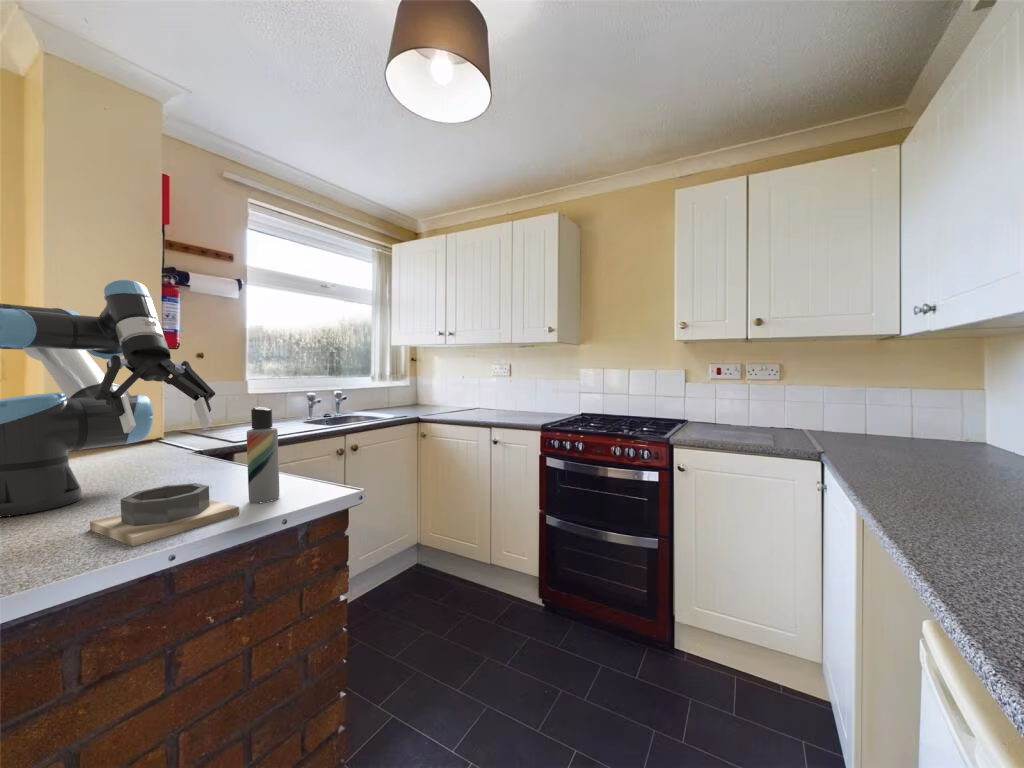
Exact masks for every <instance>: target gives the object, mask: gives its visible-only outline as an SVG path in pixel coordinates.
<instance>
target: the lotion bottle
mask: <svg viewBox="0 0 1024 768" xmlns="http://www.w3.org/2000/svg"><path fill="white" fill-rule="evenodd" d="M250 414H251V415H250V416H251V418H250V419H251V429H248V430H247V431H246V453H247V454H246V457H247V487H248V502H249V503H251V502H252V503H251V504H261V503H260V502H265V503H268V502H267V501H270V502H272V501H271V500H273V501H275V499H276V500H278V499H279V498H280V468H279V467H280V465H279V464H280V461H279V436H278V435H279V434H278V433H279V432H278V428H276V427H273V409H272V408H271V407H265V406H254V407H252V409H250ZM278 497H279V498H278ZM277 498H278V499H277Z"/></svg>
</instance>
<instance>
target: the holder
mask: <svg viewBox="0 0 1024 768" xmlns="http://www.w3.org/2000/svg"><path fill="white" fill-rule="evenodd" d="M238 514H239V515H240V507H239V506H237V505H233V504H229V503H226V502H225V503H224V502H220V501H216V500H211V499H210V486H209V485H206V484H201V483H195V482H194V483H183V484H181V483H179V484H168V485H163V486H157V487H153V488H149V489H144V490H138V491H135V492H132V493H131V494H129V495H127V496H125V497H122V498H121V499H120V514H115V515H111V516H107V517H103V518H99V519H94V520H91V521H89V530H90V531H92V532H94V533H98V534H100V535H102V536H105V537H107V538H111V539H112V540H115V541H118V542H120V543H123V544H125V545H129V546H131V547H136V546H139V545H143V544H146V543H149V542H153V541H155V540H159V539H163V538H165V537H169V536H173V535H175V534H176V535H177V534H180V533H183V532H186V531H189V530H192V529H195V528H199V527H203V526H206V525H209V524H212V523H216V522H219V521H222V520H227V519H229V518H233V517H236V516H239V515H238ZM235 515H236V516H235ZM232 516H233V517H232Z"/></svg>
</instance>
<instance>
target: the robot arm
mask: <svg viewBox="0 0 1024 768" xmlns="http://www.w3.org/2000/svg"><path fill="white" fill-rule="evenodd" d="M103 294H104V300H105V302H106V304H105V307H104V308H103V310H102V311H101V312H100V314H99V316H95V315H94V316H93V315H81V314H80V313H78V312H77V311H74V310H71V309H70V310H69V309H64V308H59V307H43V306H41V307H40V306H30V305H23V304H22V305H20V304H12V303H11V304H9V303H0V350H19V351H21V350H22V351H24V353H25V354H26V355H28V357H29V358H32V359H34V360H36V361H40V363H42V365H43V366H44V368H45V369H46V370H47V372H48V373H49V375H50V376H51V377H52V379H53V381H54V382H55V384H56V385H57V387H59V389H60V390H61V391H60V392H46V393H40V394H39V393H36V394H28V395H19V396H13V397H6V398H5V397H4V398H0V516H9V515H16V516H20V515H19V514H23V515H26V513H29V514H32V513H33V512H34V513H38V511H39V512H45V511H48V510H52V509H56V508H60V507H64V506H68V505H71V504H75V503H76V502H78V501H80V500H81V499H82V498H83V497H82V494H83V493H82V491H83V490H82V486H81V485H80V483H79V481H78V479H77V478H76V476H75V474H74V471H72V468H71V467H70V462H69V452H71V451H80V450H87V449H97V448H104V447H112V446H120V445H129V444H133V443H139V442H141V441H143V440H145V439H146V438H147V437H148V436H149V435H150V433H151V430H152V427H153V420H154V410H153V404H152V401H151V400H150V399H151V398H149V397H148V396H147V395H145V394H142V395H141V394H140V393H139V394H136V395H135V394H133V395H131V393H130V392H129V391H128V389H130V388H131V387H132V386H133V385H134V384H135V383H136V381H138V379H141V380H143V381H144V382H153V381H154V382H160V383H161V382H163V383H165V384H167V385H172V386H173V387H174V388H176V389H177V390H179V391H181V392H182V393H184V395H186V396H188V397H189V399H192V400H193V401H195V402H194V403H193V406H194V410H195V412H196V415H197V419H198V420H199V423H200V426H201V429H202V430H205V429H206V430H207V428H208V427H210V426H211V425H212V424H213V419H212V417H211V414H210V412H211V411H212V408H211V405H210V400H211V399H212V398H213V397H214V396H216V392H215V391H214V390H213V389H212V388H211V386H209V385H208V384H207V383H206V382H205V381H204V379H202V378H201V377H200V376H199V374H197V373H196V371H195V370H193V369H192V365H191V364H190V363H189V362H188V361H187V360H184V361H183V362H181V363H178V362H177V363H175V362H174V361H173V360H172V358H171V357H172V356H171V351H170V348H169V346H168V343H167V340H166V338H165V335H164V331H163V329H162V326H161V323H160V320H159V317H158V314H157V311H156V307H155V305H154V301H153V297H152V296H151V294H150V292H149V290H148V288H147V287H146V286H145V285H144V284H142V283H141V282H138V281H135V280H130V279H119V280H113V281H111V282H109V283H108V284H106V285H105V286H104V289H103ZM91 355H92V356H93V357H97V358H101V359H103V360H108V361H107V362H106V372H103V370H102V369H101V367H100V366H99V365H98V364H97V362H96V361H95V360H94V358H93V357H92V356H91ZM121 357H123V358H121ZM123 367H125V368H126V369H127V370H128V371H130V372H131V373H132V374H130V376H129V377H128V378H126V380H124V382H122V383H121V384H118V383H114V381H115V379H116V378H117V375H118V373H119V371H120V370H121V369H122V368H123ZM171 375H172V376H171ZM170 376H171V377H170ZM34 513H33V514H34ZM9 517H10V516H9Z"/></svg>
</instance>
